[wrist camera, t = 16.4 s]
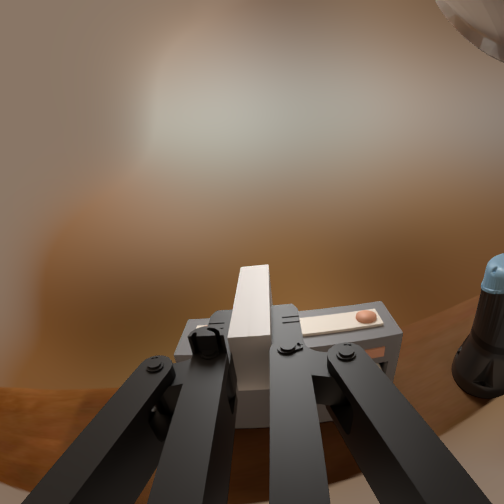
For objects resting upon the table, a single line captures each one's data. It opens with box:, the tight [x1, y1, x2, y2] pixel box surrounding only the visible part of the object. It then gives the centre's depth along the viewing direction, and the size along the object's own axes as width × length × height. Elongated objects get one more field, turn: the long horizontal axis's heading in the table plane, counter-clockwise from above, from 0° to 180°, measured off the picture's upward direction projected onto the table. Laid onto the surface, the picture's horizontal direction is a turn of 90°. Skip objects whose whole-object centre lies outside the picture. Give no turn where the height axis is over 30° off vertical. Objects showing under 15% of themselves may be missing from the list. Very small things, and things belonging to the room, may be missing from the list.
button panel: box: [174, 301, 403, 428], centre depth 42 cm, size 30×9×17 cm, turn 88°
